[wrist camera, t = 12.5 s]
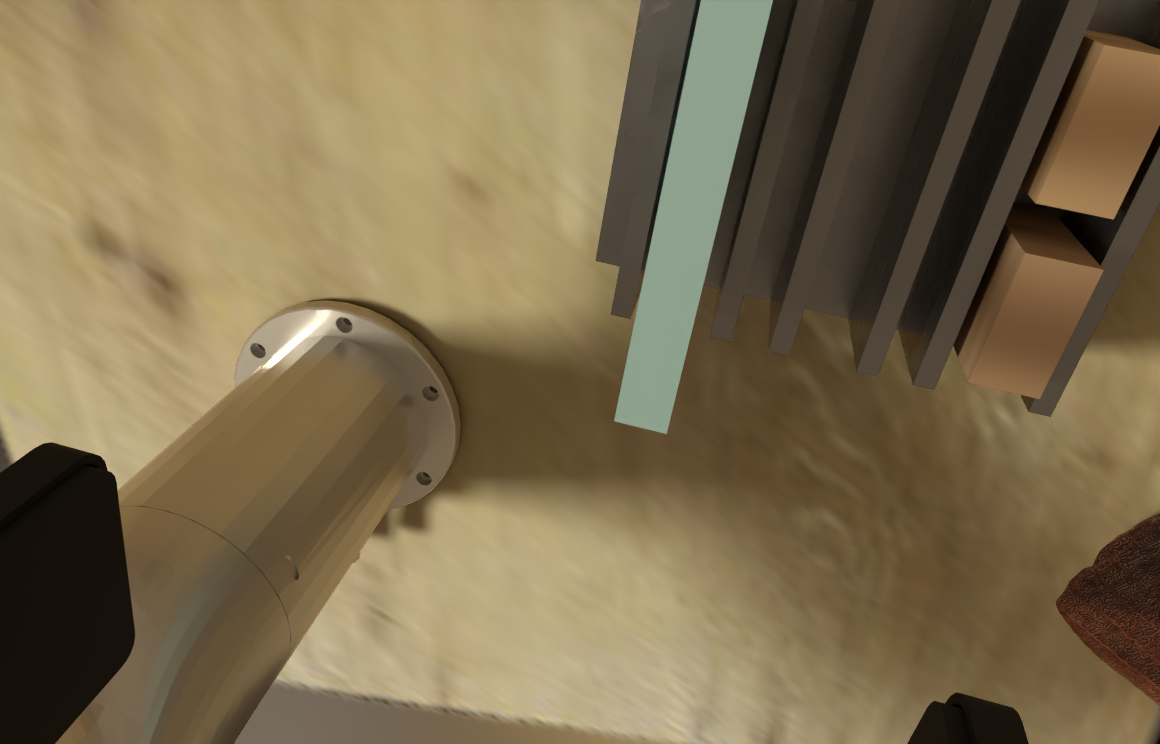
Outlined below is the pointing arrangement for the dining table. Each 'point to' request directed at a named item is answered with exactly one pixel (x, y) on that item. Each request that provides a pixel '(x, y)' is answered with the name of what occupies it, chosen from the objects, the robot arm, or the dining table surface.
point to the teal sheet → (690, 204)
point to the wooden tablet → (1121, 606)
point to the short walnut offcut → (1098, 127)
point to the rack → (875, 165)
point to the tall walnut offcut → (1026, 303)
